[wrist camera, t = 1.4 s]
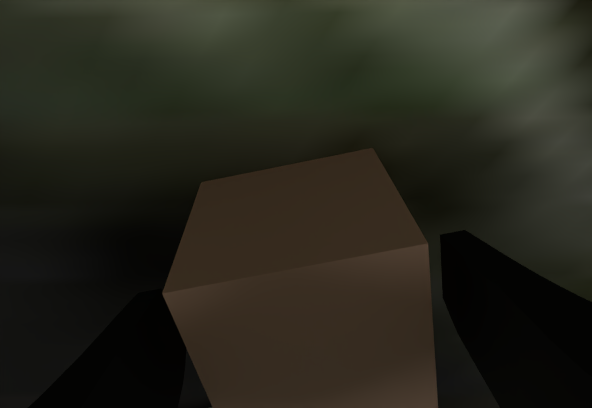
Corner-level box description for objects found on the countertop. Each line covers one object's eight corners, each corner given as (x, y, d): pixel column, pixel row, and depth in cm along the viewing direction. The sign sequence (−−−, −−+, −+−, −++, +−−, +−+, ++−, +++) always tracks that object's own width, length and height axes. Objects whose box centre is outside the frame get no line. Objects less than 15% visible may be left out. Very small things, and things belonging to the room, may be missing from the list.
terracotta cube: (371, 146, 12) (428, 243, 8) (388, 283, 15) (438, 417, 10) (201, 180, 12) (161, 293, 8) (244, 309, 15) (232, 451, 10)
